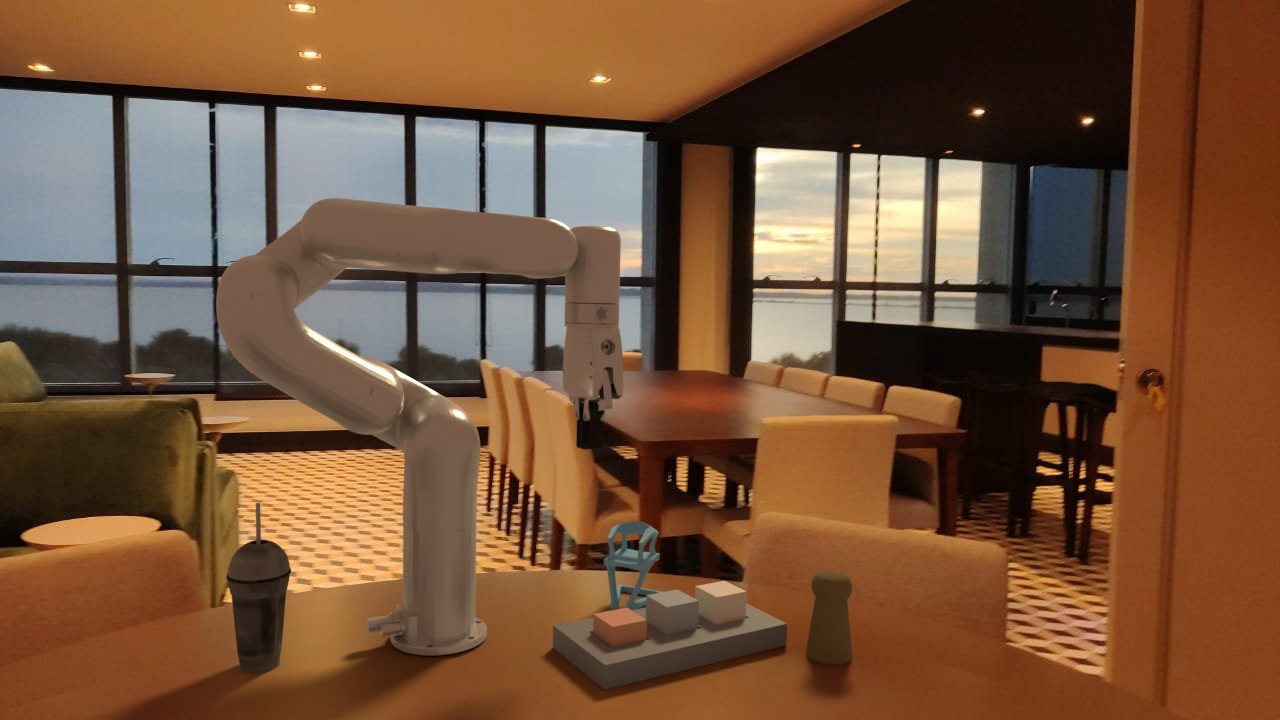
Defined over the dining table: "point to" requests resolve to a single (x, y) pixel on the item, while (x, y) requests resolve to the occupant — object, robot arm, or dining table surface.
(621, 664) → the button panel
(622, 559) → the chair
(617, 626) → the terracotta button
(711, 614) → the cream button
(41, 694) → the dining table surface
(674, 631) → the slate button
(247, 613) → the beverage cup
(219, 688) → the dining table surface
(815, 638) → the cork
